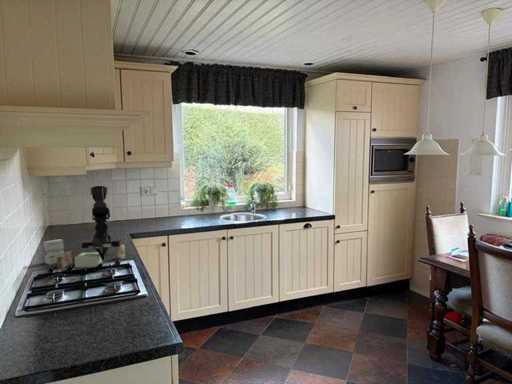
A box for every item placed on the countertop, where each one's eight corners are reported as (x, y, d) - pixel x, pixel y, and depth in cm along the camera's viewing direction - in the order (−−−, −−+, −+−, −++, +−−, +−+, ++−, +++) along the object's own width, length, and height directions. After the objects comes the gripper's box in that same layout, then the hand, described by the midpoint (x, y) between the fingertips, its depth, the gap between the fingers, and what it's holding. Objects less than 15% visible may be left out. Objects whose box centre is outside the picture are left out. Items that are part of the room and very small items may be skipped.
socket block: (82, 262, 200) (82, 252, 200) (102, 261, 201) (101, 252, 200) (75, 267, 190) (74, 257, 190) (95, 266, 191) (95, 256, 191)
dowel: (119, 259, 210) (118, 245, 209) (126, 259, 210) (125, 244, 209) (117, 261, 206) (116, 246, 205) (124, 260, 206) (123, 246, 206)
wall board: (68, 264, 201) (67, 251, 201) (130, 261, 203) (130, 248, 203) (57, 271, 188) (56, 257, 188) (124, 268, 190) (123, 254, 190)
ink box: (61, 259, 212) (59, 238, 211) (65, 261, 209) (63, 239, 208) (44, 263, 206) (42, 241, 205) (48, 264, 202) (46, 242, 202)
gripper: (76, 233, 186) (78, 265, 187) (115, 232, 188) (117, 263, 189) (84, 229, 197) (86, 259, 198) (121, 228, 199) (123, 258, 200)
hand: (103, 260), depth 196 cm, fingers closed
